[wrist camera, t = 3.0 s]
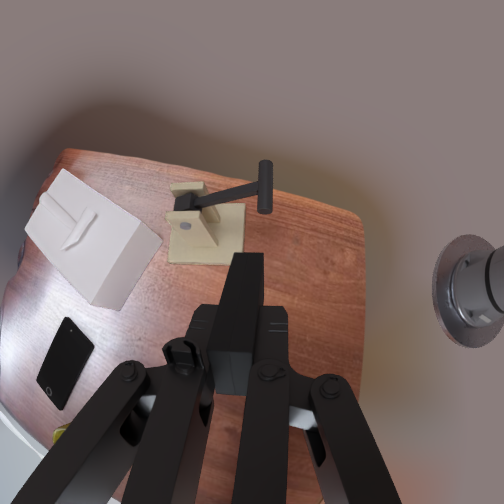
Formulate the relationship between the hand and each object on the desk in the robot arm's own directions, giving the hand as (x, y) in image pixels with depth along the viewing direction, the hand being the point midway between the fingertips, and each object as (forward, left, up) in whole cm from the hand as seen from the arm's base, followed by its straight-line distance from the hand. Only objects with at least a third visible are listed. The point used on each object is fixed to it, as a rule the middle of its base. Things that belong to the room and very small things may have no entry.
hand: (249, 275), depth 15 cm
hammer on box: (+32, -11, -27) cm, 44 cm away
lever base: (+10, -12, -27) cm, 31 cm away
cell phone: (+38, +14, -27) cm, 49 cm away
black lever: (+5, -12, -15) cm, 20 cm away
